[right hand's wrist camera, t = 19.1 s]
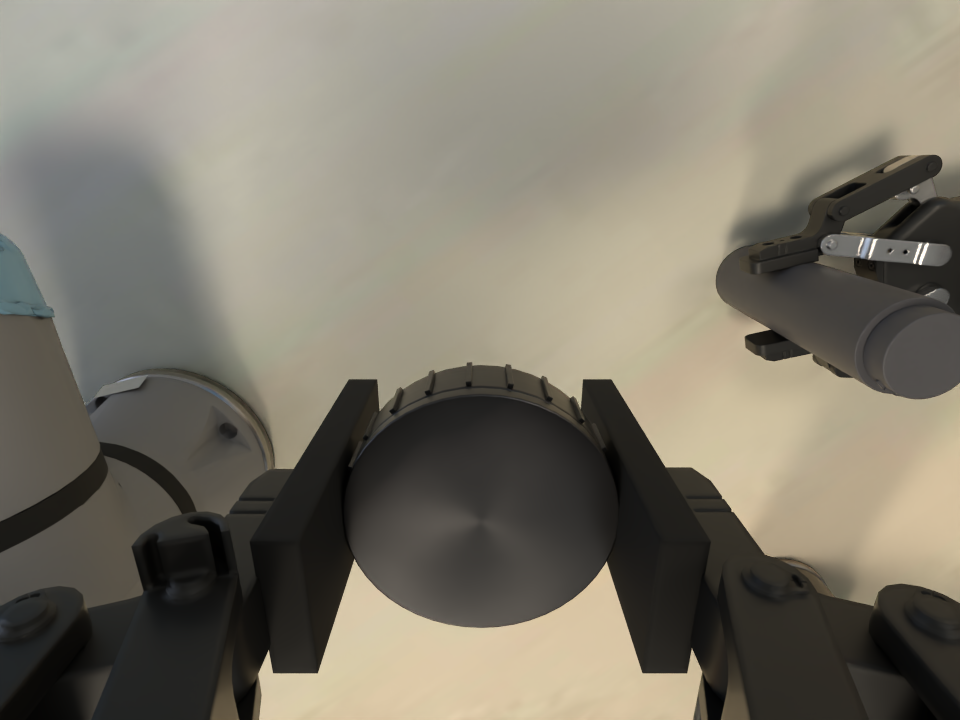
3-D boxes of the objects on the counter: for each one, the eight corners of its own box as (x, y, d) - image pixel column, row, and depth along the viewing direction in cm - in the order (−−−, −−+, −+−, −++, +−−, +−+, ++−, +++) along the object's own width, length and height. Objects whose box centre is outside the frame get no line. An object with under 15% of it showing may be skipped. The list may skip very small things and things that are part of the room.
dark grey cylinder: (743, 320, 40) (915, 425, 24) (702, 280, 39) (852, 362, 23) (793, 274, 38) (1011, 352, 22) (751, 232, 37) (948, 282, 21)
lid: (506, 307, 11) (509, 330, 9) (653, 498, 12) (677, 544, 11) (303, 457, 12) (278, 499, 10) (461, 614, 13) (458, 670, 12)
